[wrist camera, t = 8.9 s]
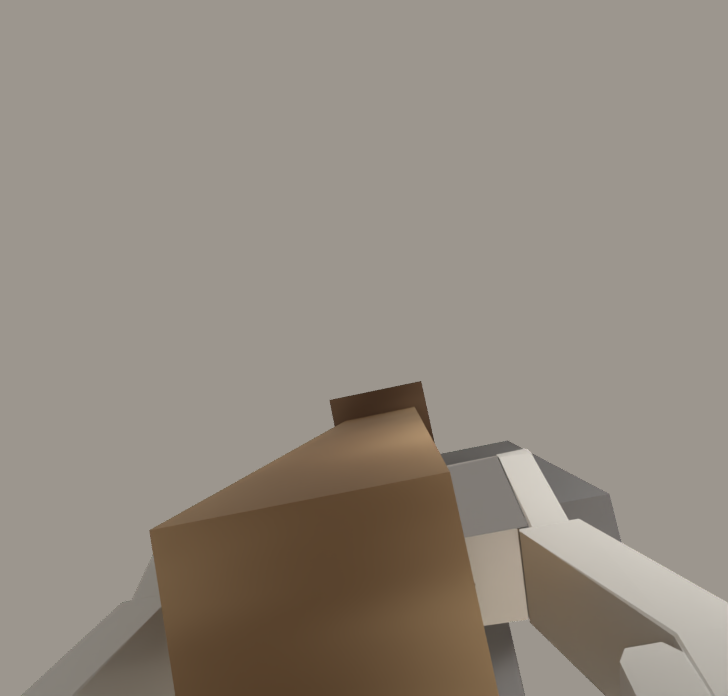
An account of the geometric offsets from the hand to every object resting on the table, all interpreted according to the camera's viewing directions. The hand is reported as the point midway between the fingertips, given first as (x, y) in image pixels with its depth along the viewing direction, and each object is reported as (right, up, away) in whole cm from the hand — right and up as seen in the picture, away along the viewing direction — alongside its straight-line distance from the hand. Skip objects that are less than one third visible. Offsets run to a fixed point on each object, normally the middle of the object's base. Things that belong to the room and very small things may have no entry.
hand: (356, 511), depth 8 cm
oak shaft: (+1, -2, +6) cm, 7 cm away
